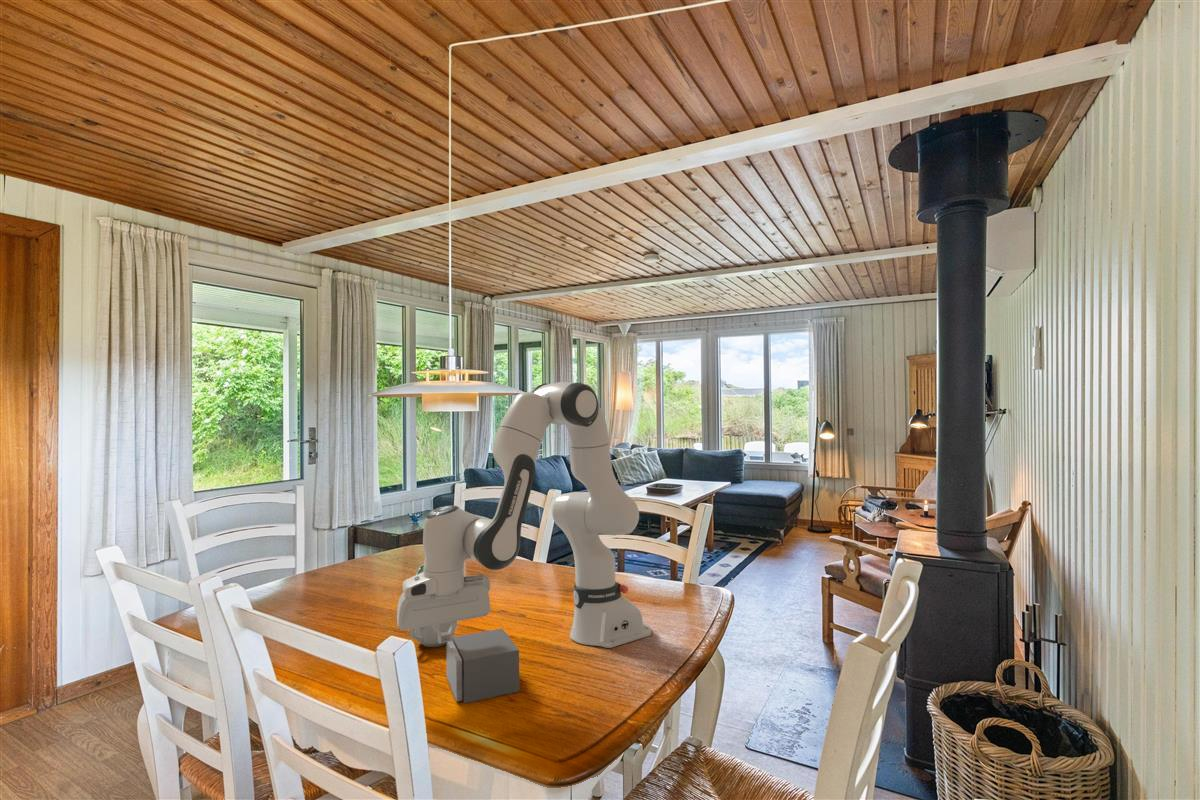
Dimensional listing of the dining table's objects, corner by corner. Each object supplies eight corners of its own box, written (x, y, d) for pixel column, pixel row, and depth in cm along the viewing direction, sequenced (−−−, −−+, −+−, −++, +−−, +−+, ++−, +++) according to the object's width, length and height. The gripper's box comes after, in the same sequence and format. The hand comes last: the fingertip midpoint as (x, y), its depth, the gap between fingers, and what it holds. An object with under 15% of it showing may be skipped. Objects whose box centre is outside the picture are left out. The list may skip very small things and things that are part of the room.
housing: (502, 665, 137) (502, 628, 137) (519, 691, 124) (519, 650, 124) (452, 675, 132) (452, 636, 132) (464, 703, 119) (464, 660, 119)
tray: (497, 667, 135) (497, 631, 136) (511, 689, 124) (511, 650, 124) (446, 677, 130) (446, 640, 131) (456, 701, 119) (456, 661, 119)
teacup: (441, 631, 159) (440, 603, 159) (464, 641, 152) (464, 611, 152) (395, 648, 148) (395, 617, 148) (419, 659, 141) (419, 626, 141)
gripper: (486, 569, 134) (487, 628, 134) (395, 582, 125) (396, 645, 125) (493, 576, 128) (494, 637, 128) (398, 591, 119) (399, 656, 119)
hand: (445, 641), depth 126 cm, fingers closed
